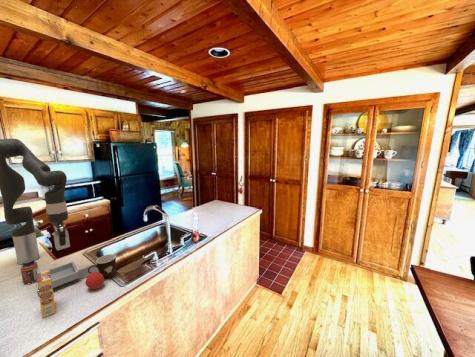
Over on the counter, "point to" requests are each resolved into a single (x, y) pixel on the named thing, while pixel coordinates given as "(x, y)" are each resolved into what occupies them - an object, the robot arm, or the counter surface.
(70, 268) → the grey shallow tray
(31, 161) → the robot arm
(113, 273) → the coffee mug
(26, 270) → the supplement bottle
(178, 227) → the counter surface
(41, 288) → the candy box
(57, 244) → the steel block
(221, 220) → the counter surface
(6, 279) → the counter surface
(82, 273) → the runner mat
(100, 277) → the tomato
